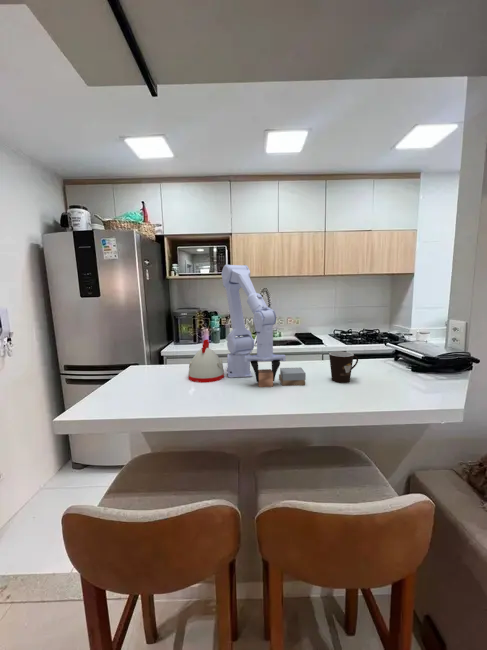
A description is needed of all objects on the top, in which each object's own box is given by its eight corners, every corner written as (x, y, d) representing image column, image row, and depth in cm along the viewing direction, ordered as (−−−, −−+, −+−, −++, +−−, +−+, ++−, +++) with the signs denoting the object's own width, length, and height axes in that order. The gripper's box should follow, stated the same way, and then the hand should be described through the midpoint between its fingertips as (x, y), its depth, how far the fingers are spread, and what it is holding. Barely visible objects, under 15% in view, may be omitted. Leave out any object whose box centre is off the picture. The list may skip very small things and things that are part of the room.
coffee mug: (331, 384, 110) (332, 356, 109) (326, 377, 118) (326, 351, 117) (364, 383, 109) (365, 356, 108) (356, 376, 118) (357, 351, 117)
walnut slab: (282, 387, 109) (282, 380, 109) (278, 380, 117) (278, 374, 116) (304, 386, 109) (304, 379, 109) (299, 379, 117) (299, 373, 117)
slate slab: (283, 380, 109) (282, 373, 108) (280, 374, 116) (280, 367, 116) (305, 379, 109) (305, 373, 108) (301, 373, 116) (301, 367, 116)
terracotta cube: (259, 387, 108) (258, 373, 107) (257, 382, 113) (257, 369, 112) (273, 386, 108) (273, 372, 107) (271, 382, 113) (271, 369, 112)
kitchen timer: (227, 373, 127) (226, 337, 125) (219, 383, 113) (218, 343, 112) (194, 372, 129) (193, 337, 127) (183, 382, 115) (182, 343, 114)
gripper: (245, 346, 104) (245, 384, 106) (287, 345, 105) (287, 383, 107) (244, 342, 111) (244, 379, 113) (283, 341, 112) (283, 377, 114)
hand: (265, 380), depth 110 cm, fingers closed on terracotta cube, 5 cm apart
